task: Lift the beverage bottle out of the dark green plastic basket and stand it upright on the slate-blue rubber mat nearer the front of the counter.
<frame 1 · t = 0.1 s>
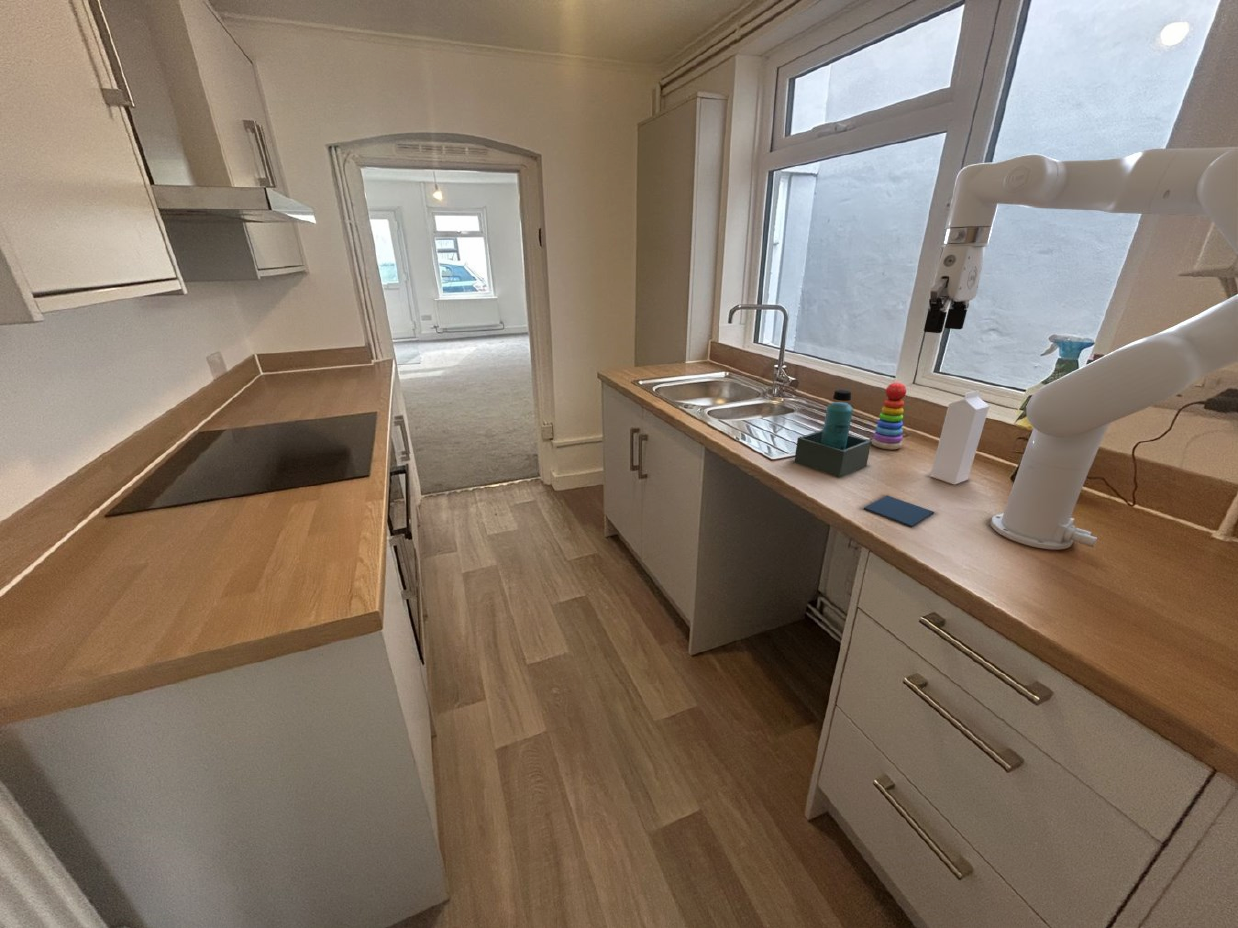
hand: (943, 330, 99), 37 cm above the worktop, tool pointing down, fingers open, 9 cm apart
mat: (898, 511, 104), on the worktop
milk: (948, 478, 120), on the worktop
basket: (830, 464, 129), on the worktop
beverage bottle: (829, 464, 129), resting in basket
stacking toy: (885, 446, 142), on the worktop
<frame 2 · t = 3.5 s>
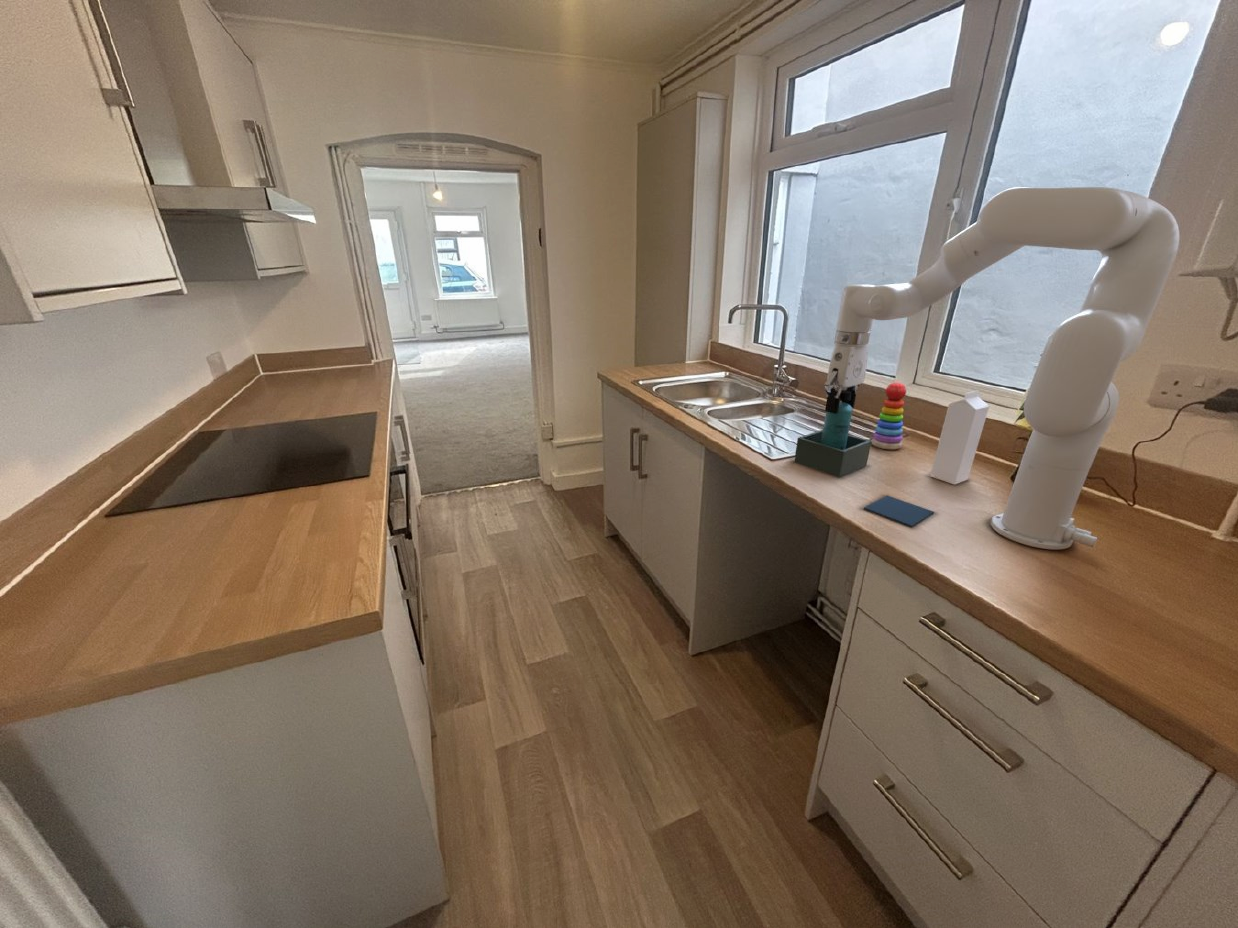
hand: (839, 409, 123), 15 cm above the worktop, tool pointing down, fingers closed on beverage bottle, 6 cm apart
beverage bottle: (829, 464, 129), resting in basket, touching gripper
everything else where it was.
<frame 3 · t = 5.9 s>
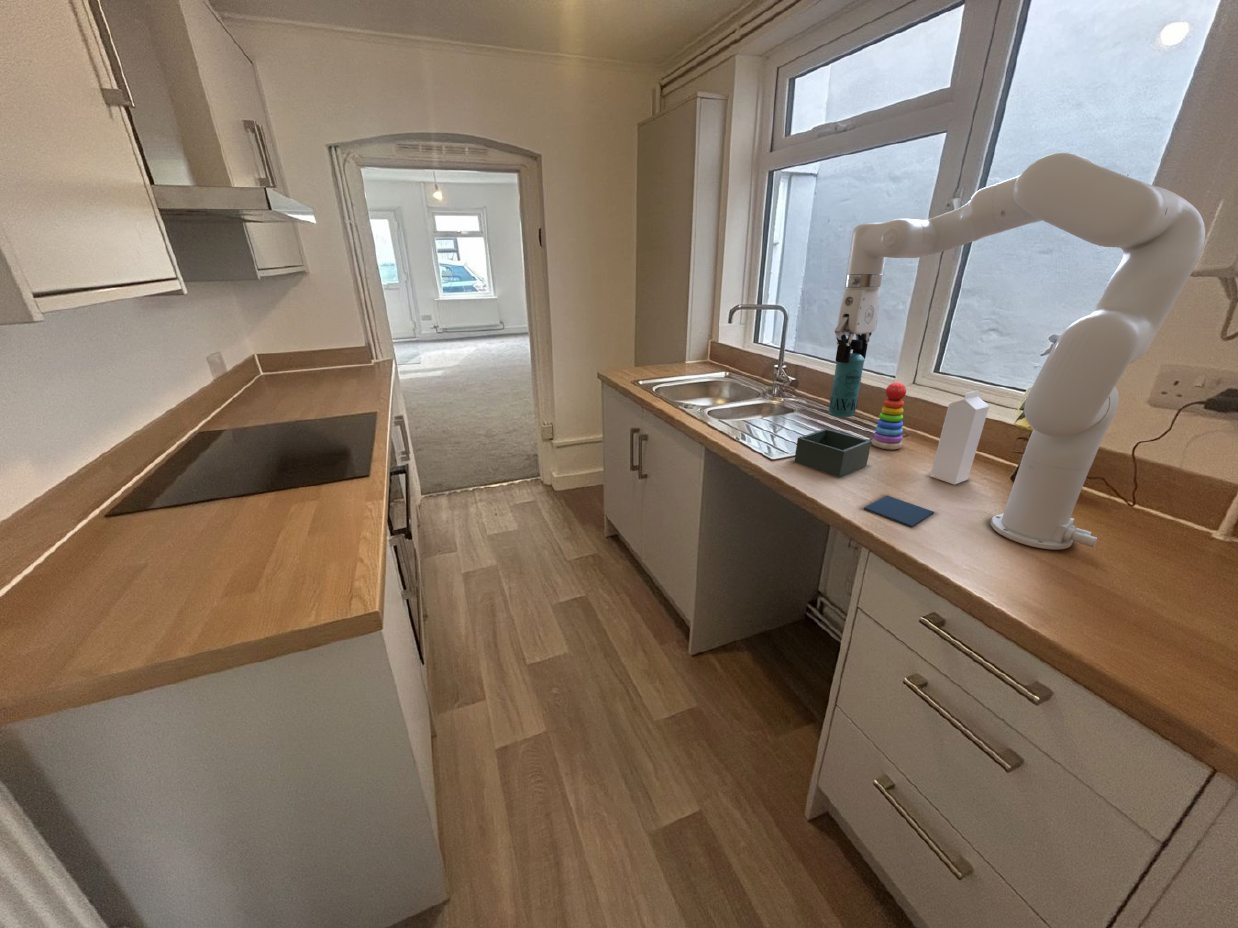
hand: (850, 360, 118), 28 cm above the worktop, tool pointing down, fingers closed on beverage bottle, 6 cm apart
beverage bottle: (840, 420, 123), point 13 cm above the worktop, touching gripper
everything else where it was.
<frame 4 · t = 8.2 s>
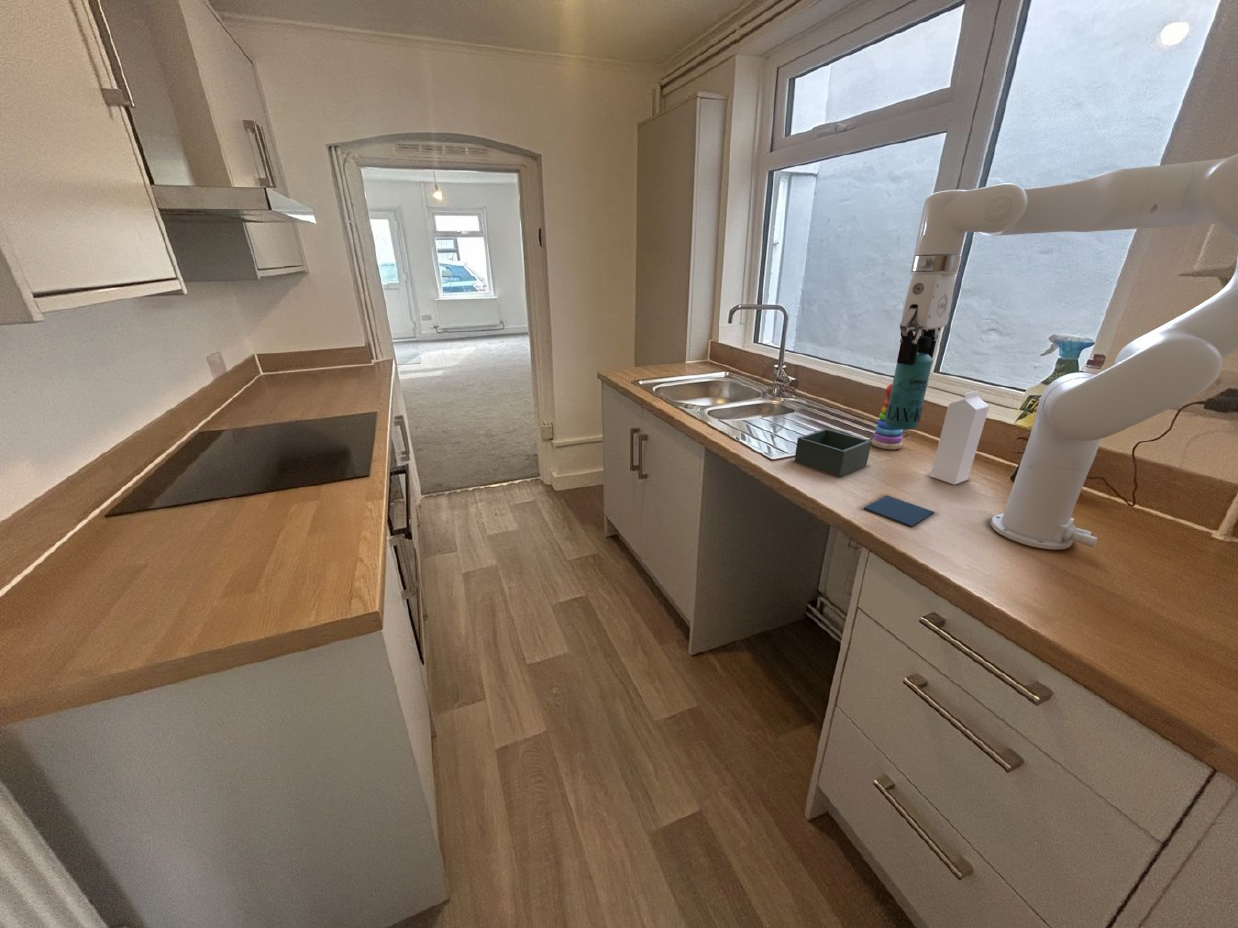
hand: (914, 361, 97), 31 cm above the worktop, tool pointing down, fingers closed on beverage bottle, 6 cm apart
beverage bottle: (899, 433, 103), point 16 cm above the worktop, touching gripper
everything else where it was.
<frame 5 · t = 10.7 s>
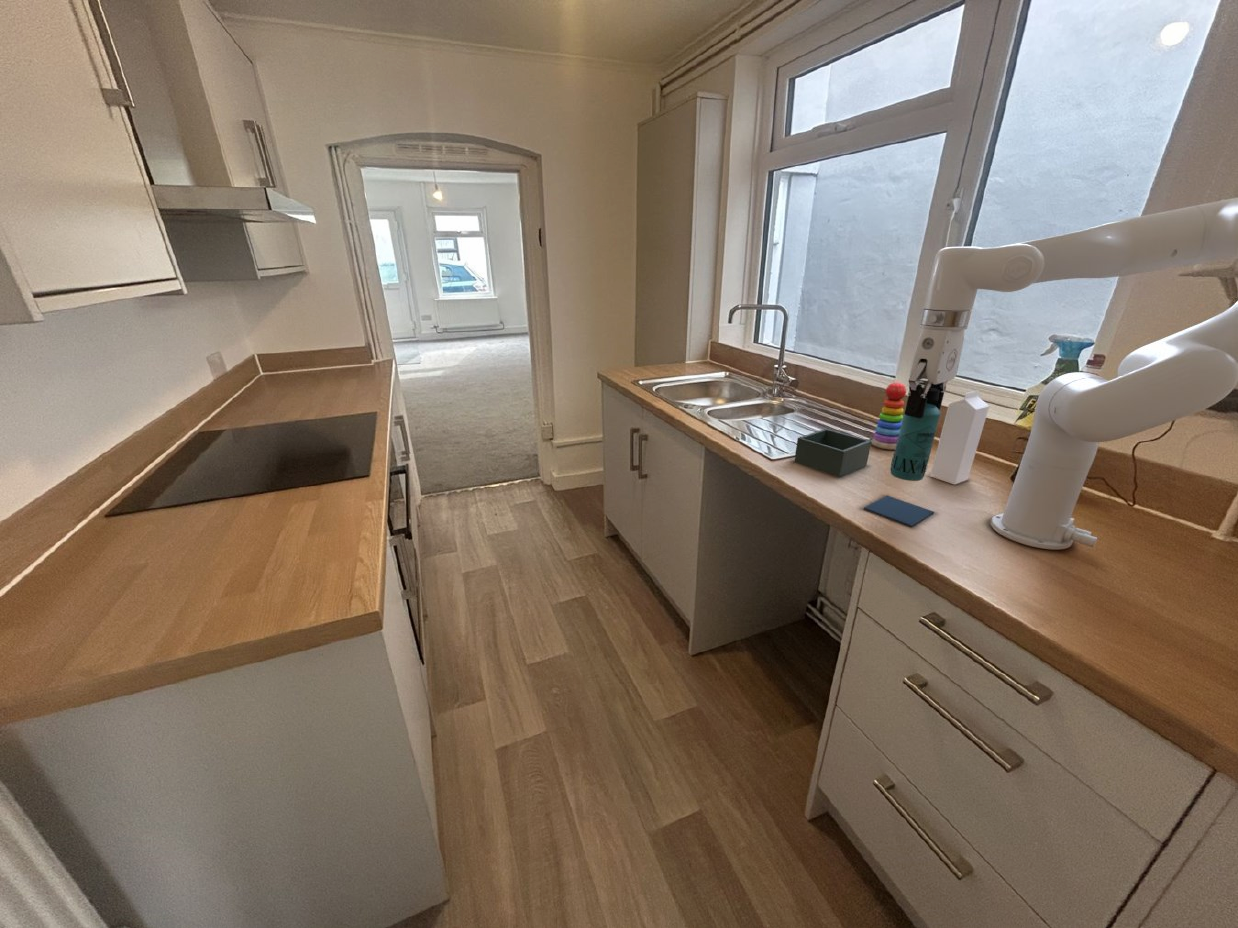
hand: (922, 412, 96), 22 cm above the worktop, tool pointing down, fingers closed on beverage bottle, 6 cm apart
beverage bottle: (905, 482, 101), point 7 cm above the worktop, touching gripper
everything else where it was.
when the fingers open (15 cm above the worktop, at t = 12.8 s): beverage bottle stays where it is, resting on mat.
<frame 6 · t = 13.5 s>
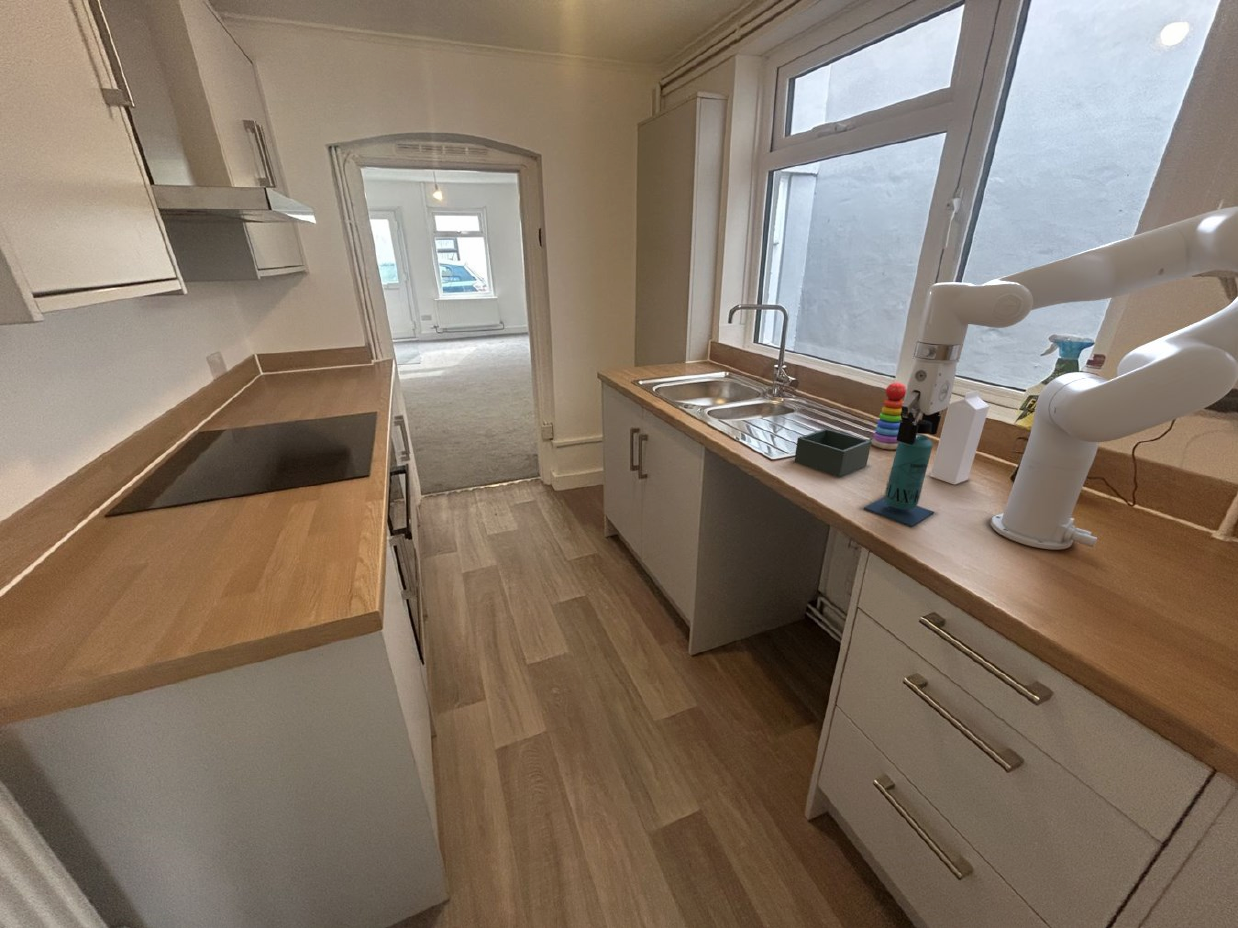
hand: (916, 437, 97), 17 cm above the worktop, tool pointing down, fingers open, 9 cm apart
beverage bottle: (898, 510, 104), resting on mat
everything else where it was.
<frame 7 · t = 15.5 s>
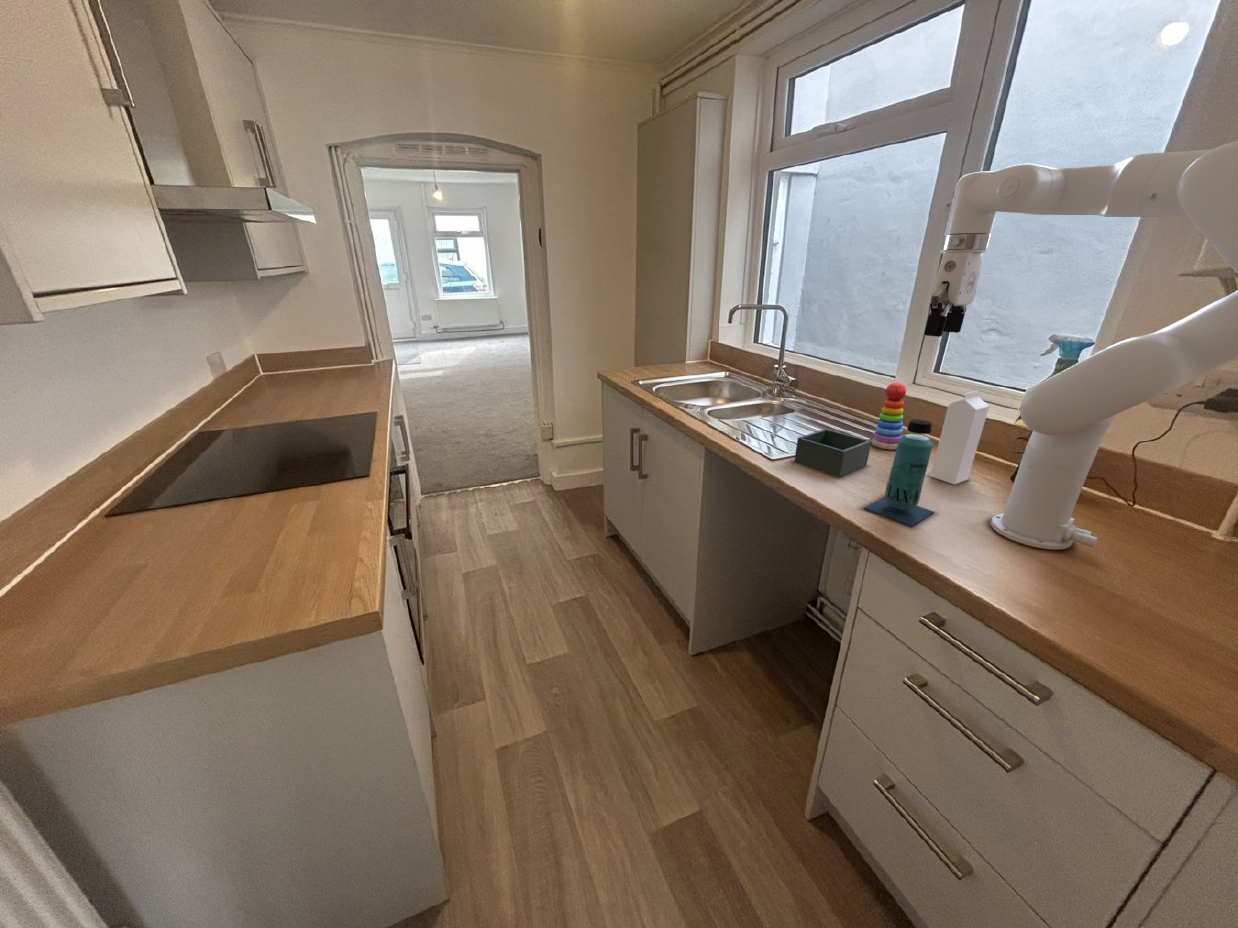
hand: (942, 333, 102), 36 cm above the worktop, tool pointing down, fingers open, 9 cm apart
nothing on the worktop moved.
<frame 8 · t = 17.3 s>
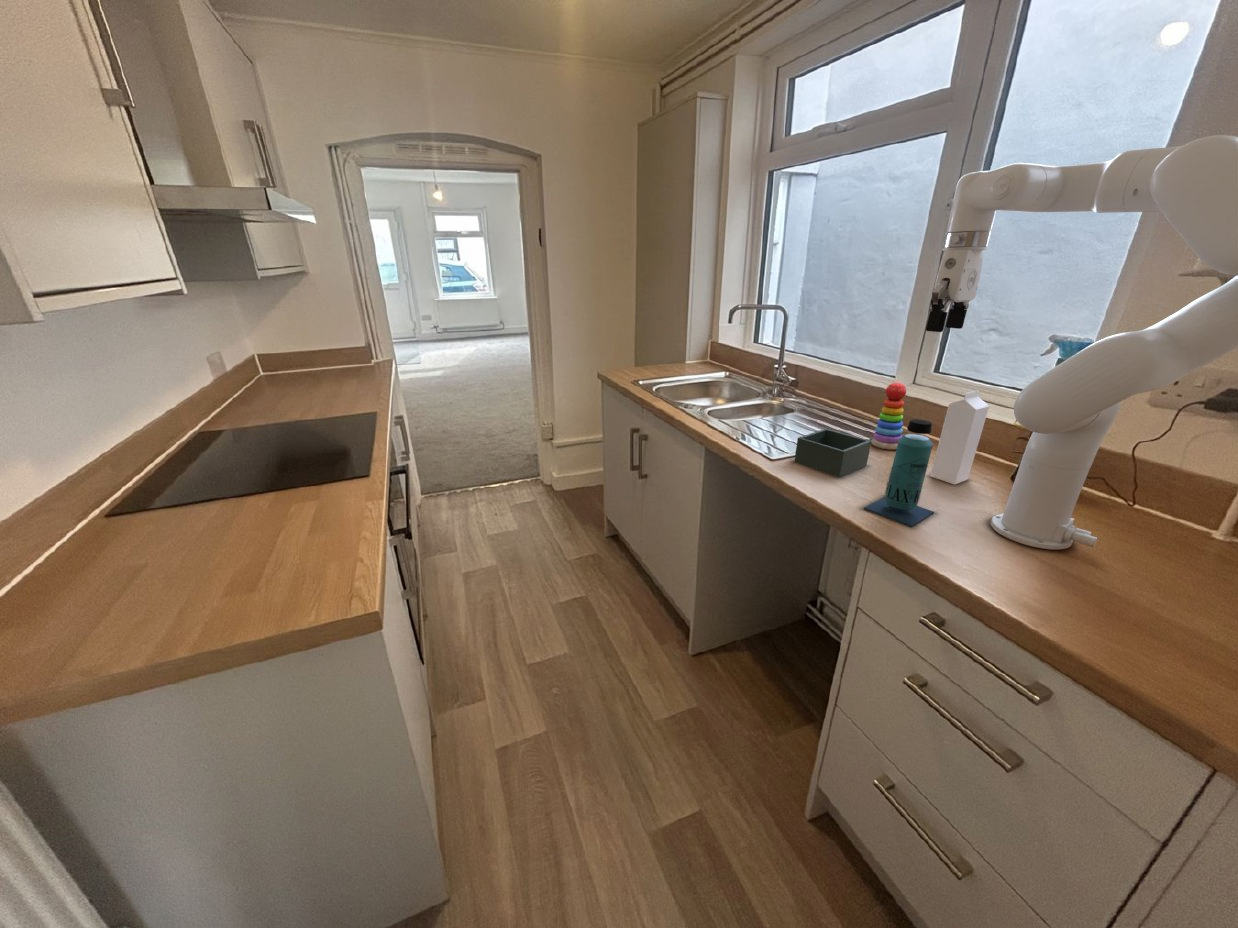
hand: (944, 329, 104), 36 cm above the worktop, tool pointing down, fingers open, 9 cm apart
nothing on the worktop moved.
at the end: beverage bottle inside the target area on the mat (0.0 cm from its centre), point 0.2 cm above the mat's base; beverage bottle tilted 0°; beverage bottle touching mat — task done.
